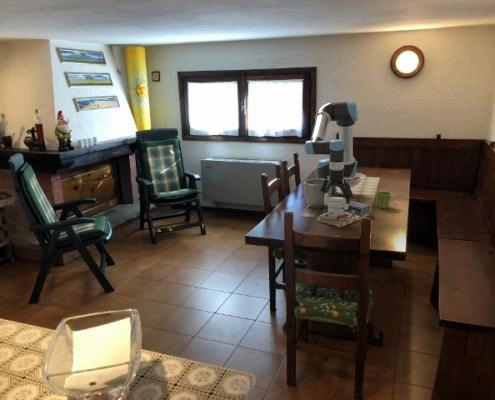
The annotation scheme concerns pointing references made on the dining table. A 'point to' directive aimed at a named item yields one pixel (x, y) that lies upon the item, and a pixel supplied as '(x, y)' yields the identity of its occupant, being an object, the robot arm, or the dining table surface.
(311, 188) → the planter
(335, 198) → the ink box
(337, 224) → the cradle
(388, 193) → the plant pot
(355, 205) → the block
